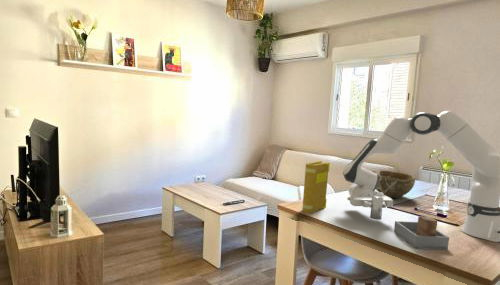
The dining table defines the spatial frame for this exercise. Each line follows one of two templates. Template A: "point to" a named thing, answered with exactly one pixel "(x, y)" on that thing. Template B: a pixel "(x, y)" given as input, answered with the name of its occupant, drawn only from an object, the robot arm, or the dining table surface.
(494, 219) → the robot arm
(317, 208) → the book
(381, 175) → the bowl
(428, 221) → the walnut block
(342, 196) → the dining table surface
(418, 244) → the tote
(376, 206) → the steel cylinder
